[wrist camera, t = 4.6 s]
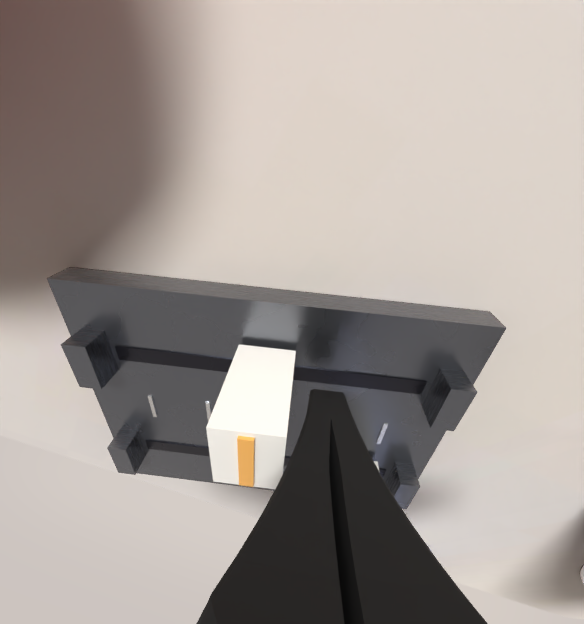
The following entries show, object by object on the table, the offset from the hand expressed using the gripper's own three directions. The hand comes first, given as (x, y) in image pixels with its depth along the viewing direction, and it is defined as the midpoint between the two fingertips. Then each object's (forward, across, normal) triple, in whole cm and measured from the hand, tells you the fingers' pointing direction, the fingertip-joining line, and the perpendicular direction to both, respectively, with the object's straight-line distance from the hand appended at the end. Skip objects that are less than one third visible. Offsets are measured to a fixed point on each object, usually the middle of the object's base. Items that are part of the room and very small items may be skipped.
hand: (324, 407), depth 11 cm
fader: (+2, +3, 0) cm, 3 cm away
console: (+3, +2, +4) cm, 5 cm away
